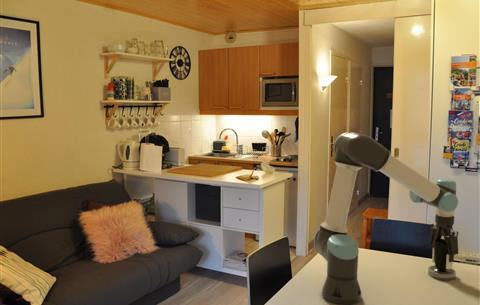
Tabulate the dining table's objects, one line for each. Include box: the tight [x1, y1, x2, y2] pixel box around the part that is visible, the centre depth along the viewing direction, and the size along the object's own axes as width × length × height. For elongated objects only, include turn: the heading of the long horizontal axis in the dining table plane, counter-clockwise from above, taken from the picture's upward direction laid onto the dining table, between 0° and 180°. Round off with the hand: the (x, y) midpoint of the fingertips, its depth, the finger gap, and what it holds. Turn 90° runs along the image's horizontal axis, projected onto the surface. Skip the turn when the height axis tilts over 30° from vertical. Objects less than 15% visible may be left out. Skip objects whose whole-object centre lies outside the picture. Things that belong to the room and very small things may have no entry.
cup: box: [434, 238, 452, 270], centre depth 188 cm, size 8×8×12 cm
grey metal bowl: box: [427, 264, 457, 282], centre depth 189 cm, size 11×11×3 cm
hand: (442, 265), depth 189 cm, fingers closed on cup, 8 cm apart
